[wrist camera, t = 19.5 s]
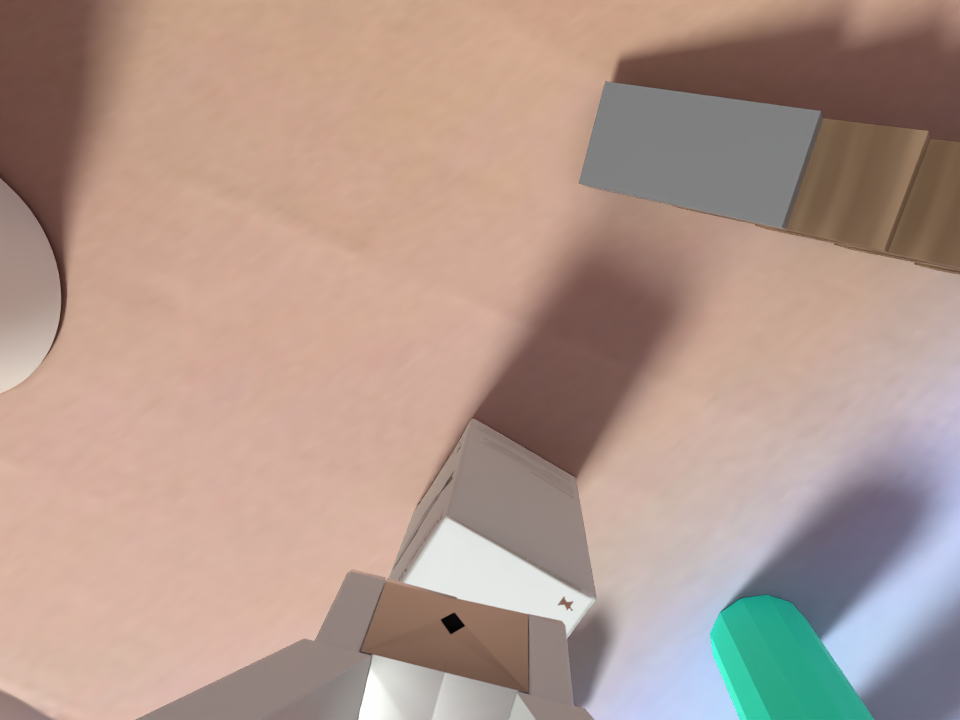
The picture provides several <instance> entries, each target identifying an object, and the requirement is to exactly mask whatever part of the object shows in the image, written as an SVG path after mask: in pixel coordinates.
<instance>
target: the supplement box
mask: <svg viewBox="0 0 960 720" xmlns="http://www.w3.org/2000/svg"><path fill="white" fill-rule="evenodd" d="M389 579H392V580H395V581H399V582H403V583H406V584H410V585H414V586H418V587H421V588H425V589H429V590H432V591H436V592H440V593H443V594H447V595H451V596H455V597H457V599H462V600H466V601H471V602H475V603H480V604H484V605H489V606H494V607H498V608H503V609H507V610H512V611H516V612H521V613H525V614H531V615H536V616H541V617H546V618H551V619H555V620H560V621H563V623H564V624H565V625H566V634H567V638H568V637H569V635H570V634H571V633H572V631H573V630H574V629H575V627H576V626H577V624H578V623H579V622H580V620H581V619H582V618H583V616H584V615H585V613H586V612H587V611H588V609H589V608H590V607H591V606H592V605H593V603H594V602H595V600H596V592H595V586H594V580H593V575H592V569H591V564H590V557H589V552H588V546H587V540H586V534H585V528H584V523H583V517H582V512H581V506H580V500H579V494H578V488H577V483H576V478H575V477H573V476H572V475H570V474H568V473H567V472H565V471H563V470H562V469H560V468H558V467H557V466H555V465H553V464H552V463H550V462H548V461H546V460H545V459H543V458H541V457H540V456H538V455H536V454H535V453H533V452H531V451H529V450H528V449H526V448H524V447H523V446H521V445H519V444H517V443H516V442H514V441H512V440H510V439H509V438H507V437H505V436H504V435H502V434H500V433H499V432H497V431H495V430H493V429H491V428H490V427H488V426H487V425H485V424H483V423H481V422H479V421H478V420H476V419H471V420H470V422H469V424H468V426H467V427H466V429H465V431H464V433H463V435H462V437H461V438H460V440H459V442H458V443H457V445H456V447H455V449H454V450H453V452H452V454H451V455H450V457H449V458H448V460H447V461H446V463H445V465H444V466H443V468H442V469H441V471H440V473H439V474H438V476H437V477H436V479H435V481H434V482H433V484H432V485H431V487H430V489H429V490H428V492H427V493H426V495H425V496H424V498H423V499H422V500H421V502H420V503H419V505H418V506H417V508H416V509H415V511H414V512H413V515H412V518H411V521H410V523H409V526H408V528H407V531H406V534H405V536H404V539H403V541H402V544H401V547H400V550H399V552H398V555H397V558H396V560H395V563H394V566H393V569H392V571H391V574H390V577H389Z"/></svg>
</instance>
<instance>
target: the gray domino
mask: <svg viewBox="0 0 960 720" xmlns="http://www.w3.org/2000/svg"><path fill="white" fill-rule="evenodd" d="M822 121H823V116H822V113H821V111H817V110H810V109H803V108H796V107H788V106H781V105H774V104H767V103H759V102H752V101H745V100H737V99H730V98H723V97H716V96H708V95H701V94H694V93H687V92H679V91H672V90H665V89H658V88H650V87H643V86H636V85H628V84H621V83H614V82H607V81H605V85H604V89H603V92H602V96H601V100H600V104H599V108H598V112H597V115H596V119H595V123H594V127H593V131H592V135H591V138H590V142H589V146H588V150H587V154H586V158H585V161H584V165H583V169H582V173H581V177H580V181H579V184H582V185H585V186H588V187H591V188H596V189H600V190H605V191H609V192H614V193H619V194H623V195H628V196H632V197H637V198H642V199H646V200H651V201H655V202H660V203H665V204H669V205H674V206H678V207H683V208H688V209H692V210H697V211H701V212H706V213H710V214H715V215H720V216H724V217H729V218H733V219H738V220H743V221H747V222H752V223H756V224H761V225H766V226H770V227H775V228H779V229H784V230H786V228H787V225H788V222H789V219H790V216H791V213H792V210H793V207H794V204H795V201H796V198H797V195H798V192H799V189H800V186H801V184H802V181H803V178H804V175H805V172H806V169H807V166H808V163H809V160H810V157H811V154H812V151H813V148H814V145H815V142H816V139H817V136H818V133H819V130H820V127H821V124H822Z"/></svg>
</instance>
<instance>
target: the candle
mask: <svg viewBox="0 0 960 720" xmlns="http://www.w3.org/2000/svg"><path fill="white" fill-rule="evenodd" d="M710 637H711V643H712V650H713V656H714V658H715V661H716V663H717V666H718V668H719V670H720V673H721V675H722V678H723V680H724V682H725V685H726V687H727V689H728V692H729V694H730V697H731V699H732V701H733V704H734V706H735V709H736V711H737V713H738V716H739V718H740V720H874V718H873V717H872V715H871V714H870V712H869V711H868V709H867V708H866V706H865V705H864V703H863V702H862V700H861V699H860V698H859V696H858V695H857V693H856V692H855V690H854V689H853V687H852V686H851V684H850V683H849V681H848V680H847V678H846V677H845V675H844V674H843V672H842V671H841V670H840V668H839V667H838V665H837V664H836V662H835V661H834V659H833V658H832V656H831V655H830V653H829V652H828V650H827V649H826V647H825V646H824V644H823V643H822V641H821V640H820V639H819V637H818V636H817V634H816V633H815V631H814V630H813V628H812V627H811V625H810V624H809V622H808V621H807V620H806V618H805V617H804V616H803V615H802V614H801V613H800V612H799V610H798V609H797V608H796V607H795V606H794V605H793V604H792V603H791V602H788V601H785V600H782V599H779V598H776V597H773V596H770V595H760V596H753V597H746V598H741V599H739V600H738V601H736V602H735V603H733V604H732V605H731V606H729V607H728V608H726V609H725V610H723V611H722V612H720V614H719V616H718V618H717V620H716V622H715V624H714V626H713V629H712V631H711V633H710Z"/></svg>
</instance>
